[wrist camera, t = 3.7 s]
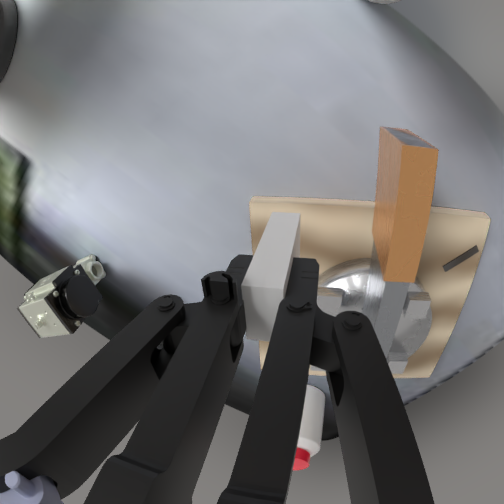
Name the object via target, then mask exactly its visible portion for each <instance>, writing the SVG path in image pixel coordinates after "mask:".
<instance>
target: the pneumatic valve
mask: <svg viewBox="0 0 504 504" xmlns="http://www.w3.org/2000/svg"><path fill="white" fill-rule="evenodd" d="M95 258H96V257H95V256H94V255H93V254H91V255H89V256H87V257H84V258H82V259H80V260H78V261H77V263H76V265H75V266H72V265H70V266H68V267H66V268H64V269H61V270H59V271H57V272H55V273H53V274H51V275H49V276H47V277H45V278H42V279H40V280H38V281H37V282H36V283H35V284H34V285H33V286H32V287H31V288H30V289H29V290H28V291H27V292H26V293H25V294H24V296H25V297H24V299H25V301H24V302H23V303H22V304H21V305H20V306H19V307H18V310H19V312H20V313H21V315H22V316H23V317H24V319H25V320H26V321H27V323H28V324H29V325H30V326H31V328H32V329H33V330H34V332H35V333H36V334H37V335H38V337H39V338H42V337H50V336H58V335H66V334H73V333H74V332H75V331H76V330H77V329H78V327H79V326H80V325H81V324H82V322H83V321H84V320H85V319H86V318H87V317H88V316H91V315H92V314H93V313H94V312H95V311H96V309H97V307H98V303H99V302H100V301H101V300H102V298H103V297H102V295H101V294H100V292H99V291H98V290H97V288H96V286H95V285H96V284H97V283H98V282H99V281H100V280H101V279H102V278H105V276H106V273H105V271H104V269H103V267H102V265H101V264H100V262H98V261H96V260H95Z"/></svg>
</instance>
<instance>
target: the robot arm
mask: <svg viewBox="0 0 504 504" xmlns="http://www.w3.org/2000/svg"><path fill="white" fill-rule="evenodd" d="M16 34H17V10H16V5H15V3H14V1H13V0H0V82H1V80H2V78H3V77H4V75H5V73H6V70H7V68H8V66H9V63H10V60H11V57H12V53H13V50H14V45H15V40H16ZM319 266H320V265H319V264H318V262H317V260H316V259H313V258H300V213H286V212H272V214H271V216H270V218H269V221H268V223H267V225H266V228H265V230H264V233H263V235H262V237H261V240H260V242H259V244H258V247H257V249H256V251H255V254H254V256H253V255H238V256H237V257H235V258H234V259H233V260H232V261H231V262H230V264H229V266H228V268H227V270H226V272H225V271H216V272H212V273H209V274H207V275H205V276H204V277H203V278H202V279H201V282H202V287H203V293H204V299H203V301H202V302H197V303H190V304H184V303H183V300H182V299H181V298H180V297H178V296H177V295H164V296H161V297H159V298H157V299H156V300H154V301H153V302H152V303H151V304H150V305H149V306H147V307H146V308H145V309H144V310H143V311H142V312H141V313H140V314H139V315H138V316H136V317H135V318H134V319H133V320H132V321H131V322H130V323H129V324H128V325H127V326H126V327H124V328H123V329H122V330H121V331H120V332H119V333H118V334H117V335H116V336H115V337H114V338H113V339H111V340H110V341H109V342H108V343H107V344H106V345H105V346H104V347H103V348H102V349H101V350H100V351H99V352H98V353H97V354H95V355H94V356H93V357H92V358H91V359H90V360H89V361H88V362H87V363H86V364H85V365H84V366H83V367H82V368H81V369H80V370H79V371H77V372H76V373H75V374H74V375H73V376H72V377H71V378H70V379H69V380H68V381H67V382H66V383H65V384H64V385H63V386H62V387H61V388H60V389H59V390H58V391H57V392H56V393H55V394H54V395H53V396H52V397H51V398H50V399H48V401H46V402H45V403H44V404H43V405H42V406H41V407H40V408H39V409H38V410H37V411H36V412H35V413H34V414H33V415H32V416H31V417H30V418H29V419H28V420H27V421H26V422H25V423H24V424H23V425H22V426H21V427H20V428H19V429H18V430H17V431H16V432H15V433H13V434H11V435H9V436H7V437H5V438H3V439H1V440H0V504H64V503H63V502H62V501H61V499H63V498H65V497H66V496H68V495H70V494H71V493H72V492H74V491H75V490H76V489H78V488H79V487H80V486H81V485H82V484H83V483H84V482H85V481H86V480H87V479H88V478H89V477H90V476H91V475H92V473H93V472H94V471H95V470H96V469H97V468H98V467H99V466H100V464H101V463H102V462H103V461H104V460H105V459H106V458H107V456H108V455H109V454H110V453H111V452H112V451H113V450H114V448H115V447H116V446H117V445H118V444H119V443H120V442H121V440H122V439H123V438H124V437H125V436H126V435H127V434H128V432H129V431H130V430H131V429H132V428H133V427H134V425H135V424H136V423H137V422H138V421H139V422H138V424H137V426H136V428H135V430H134V432H133V434H132V436H131V438H130V439H129V441H128V443H127V445H126V447H125V449H124V451H123V452H122V453H121V454H119V455H114V456H111V457H110V458H109V459H107V461H106V462H105V464H104V465H103V467H102V469H101V471H100V473H99V474H98V477H97V478H96V480H95V482H94V484H93V486H92V488H91V490H90V492H89V494H88V496H87V498H86V500H85V502H84V504H192V495H193V492H194V489H195V486H196V483H197V480H198V478H199V475H200V472H201V469H202V467H203V464H204V461H205V458H206V456H207V453H208V450H209V447H210V444H211V442H212V439H213V436H214V433H215V430H216V427H217V424H218V421H219V419H220V416H221V413H222V410H223V407H224V404H225V401H226V398H227V396H228V393H229V390H230V387H231V384H232V381H233V378H234V375H235V372H236V369H237V366H238V363H239V360H240V357H241V354H242V351H243V346H244V343H243V337H244V334H245V331H246V338H247V339H251V340H260V341H269V346H268V349H267V353H266V357H265V361H264V364H263V368H262V372H261V376H260V379H259V383H258V386H257V390H256V394H255V397H254V401H253V404H252V408H251V411H250V415H249V418H248V422H247V425H246V429H245V432H244V435H243V439H242V442H241V445H240V449H239V452H238V456H237V459H236V462H235V465H234V469H233V472H232V475H231V478H230V481H229V484H228V486H227V488H226V489H225V490H224V491H223V492H222V493H221V495H220V497H219V499H218V502H217V504H286V499H287V495H288V490H289V485H290V480H291V476H292V471H293V466H294V460H295V455H296V450H297V444H298V439H299V433H300V427H301V421H302V415H303V409H304V402H305V396H306V389H307V382H308V375H309V368H310V365H312V366H315V367H318V368H321V369H323V370H326V376H327V381H328V385H329V390H330V394H331V399H332V404H333V409H334V413H335V418H336V423H337V428H338V433H339V438H340V444H341V449H342V454H343V459H344V465H345V470H346V476H347V482H348V487H349V492H350V499H351V504H434V501H433V497H432V493H431V490H430V486H429V482H428V479H427V475H426V472H425V468H424V465H423V462H422V458H421V455H420V452H419V449H418V446H417V443H416V440H415V437H414V433H413V431H412V428H411V425H410V422H409V419H408V416H407V413H406V410H405V408H404V405H403V402H402V399H401V396H400V394H399V391H398V388H397V386H396V383H395V380H394V378H393V375H392V373H391V370H390V367H389V365H388V362H387V360H386V357H385V355H384V352H383V350H382V348H381V345H380V343H379V340H378V338H377V335H376V333H375V331H374V328H373V326H372V324H371V321H370V320H369V318H368V317H367V316H366V315H364V314H363V313H360V312H357V311H344V312H341V313H339V314H338V315H336V317H335V316H332V315H329V314H327V313H325V312H323V311H322V310H321V309H320V308H319V307H318V305H317V294H318V280H319ZM160 343H162V344H161V345H160V346H159V347H157V346H158V345H159V344H160Z"/></svg>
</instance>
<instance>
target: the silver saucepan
mask: <svg viewBox="0 0 504 504" xmlns="http://www.w3.org/2000/svg"><path fill="white" fill-rule="evenodd" d="M437 159H438V149H437V148H435V147H434V146H432V145H431V144H429V143H428V142H426V141H425V140H423V139H422V138H420V137H419V136H417V135H416V134H414V133H412V132H411V131H409V130H408V129H399V128H390V127H380V139H379V158H378V173H377V186H376V197H375V207H374V216H373V225H372V235H373V239H374V241H373V248H372V254H371V258H359V259H353V260H349V261H345V262H343V263H340V264H337V265H335V266H333V267H331V268H329V269H328V270H326V271H325V272H323V273H322V274H320V275H319V280H318V294H317V305H318V307H319V308H320V309H321V310H322V311H323V312H325V313H327V314H329V315H332V316H335V317H336V315H338V314H339V313H341V312H344V311H357V312H360V313H363V314H364V315H366V316H367V317H368V318H369V320H370V321H371V324H372V326H373V328H374V331H375V333H376V335H377V338H378V340H379V343H380V345H381V348H382V350H383V352H384V355H385V357H386V360H387V362H388V365H389V367H390V370H391V373H392V374H403V372H404V370H405V367H406V365H407V363H408V358H409V357H410V356H411V355H412V354H414V353H415V352H416V351H417V350H418V349H419V348H420V346H421V345H422V344H423V343H424V341H425V340H426V338H427V336H428V334H429V331H430V328H431V323H432V311H431V307H430V303H431V298H430V296H429V293H428V292H425V289H424V287H423V285H422V283H421V281H420V280H419V278H418V277H417V276H416V274H417V270H418V266H419V262H420V258H421V254H422V249H423V245H424V240H425V235H426V230H427V225H428V220H429V215H430V209H431V203H432V197H433V190H434V183H435V176H436V168H437ZM310 370H313V371H326V370H323V369H321V368H318V367H315V366H312V365H311V367H310Z"/></svg>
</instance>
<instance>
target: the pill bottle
mask: <svg viewBox="0 0 504 504" xmlns="http://www.w3.org/2000/svg"><path fill="white" fill-rule="evenodd" d="M324 409H325V395H324V393H323V392H322V391H321V390H320V389H318V388H316V387H314V386H312V385H308V384H307V389H306V396H305V402H304V409H303V415H302V421H301V427H300V433H299V439H298V444H297V450H296V455H295V460H294V466H293V470H302V469H305V468H307V467H308V466H309V463H310V457H312V456H313V455H315V454H316V453H317V452H318V451H319V449H320V446H321V438H322V429H323V419H324Z"/></svg>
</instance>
